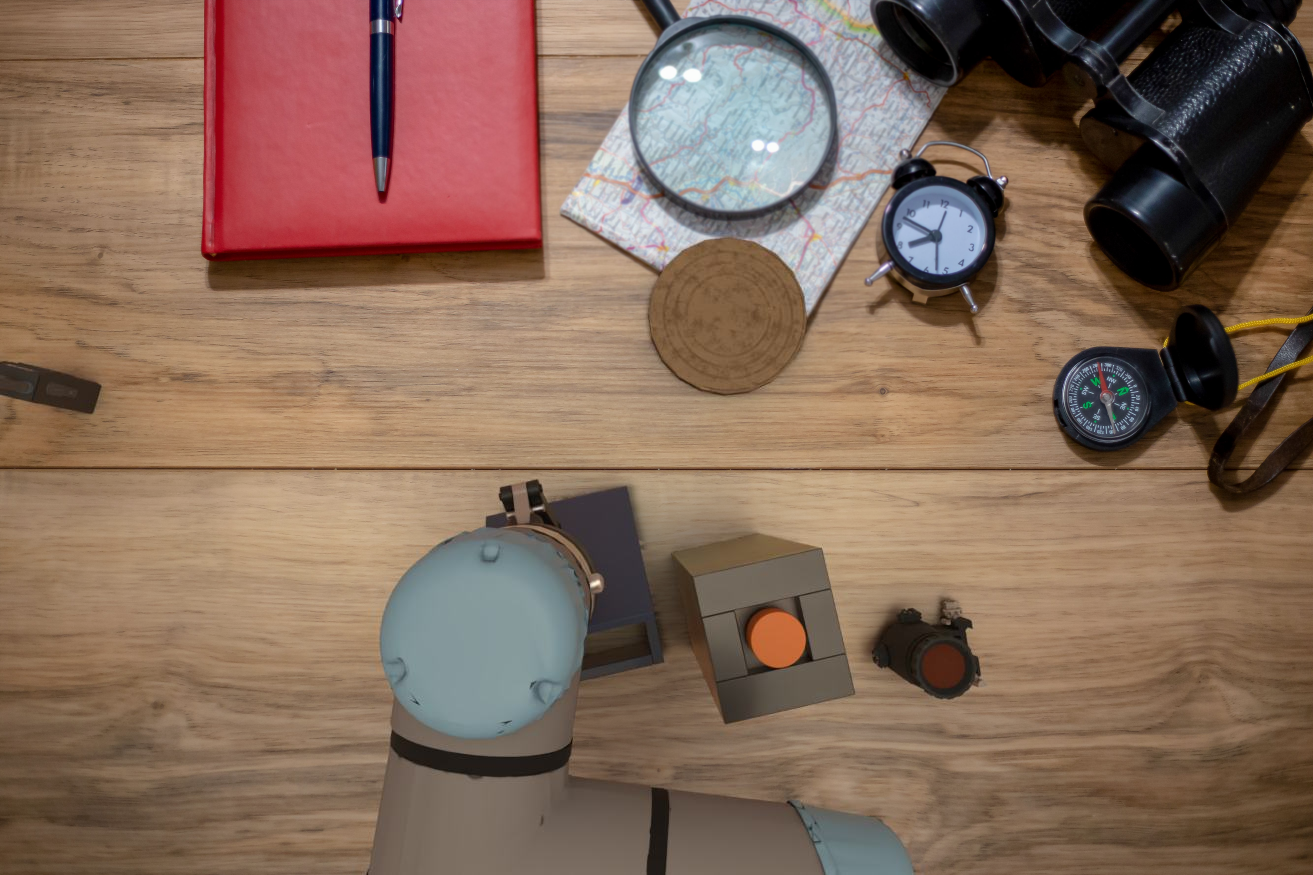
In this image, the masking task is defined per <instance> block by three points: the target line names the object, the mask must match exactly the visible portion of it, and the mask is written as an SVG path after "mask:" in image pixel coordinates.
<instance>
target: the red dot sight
mask: <svg viewBox="0 0 1313 875" xmlns="http://www.w3.org/2000/svg"><path fill="white" fill-rule="evenodd" d="M942 604H943V609H942V615H940V616H939V621H940V623H941V624H929V623H928V622H926V621H924V620H922V619H923V616H922V614H923V613H922V612H921V611H919V610H917V609H916V608H913V607H909V608H907V609H906V608H903V609H901V611H900V612H899V613H898V614H897V615H896V617H897V622H895V623H894V624H892V625H890V626H888V627H887V628H886V629H885V630H884V632H883V633H882V634H881V635H882V636H881V637H880V643H875V645H874V646H873V649H872V650H871V655H874V656H872V661H873V663H874V664H875V665H877V667H878V668H880V669H883V668H884V669H887V668H888V669H890V670H891V671H892V672H894V673H895V674H896V675H897V676H899V677H900V678H902V679H903V680H905V681H906V682H907V683H909V684H911V685H914V686H916V687H918V688H920V689H921V690H923V692H924V693H926V694H927V695H929V696H930V697H934V698H936V699H938V700H943V699H945V700H948V701H950V700H953V699H956V698H960V697H962V696H963V695H964V694H966V692H969V690H970V689H971V687H976V688H982V687H983V688H984V687H988V686H989V683H988V682H987V681H986V680H984V679H982V678H980V677H981V676H982V672H981V666H980V659H979V656H977V655H975V654H973V652H972V649H971V647H970V646H969V642H968V636H967V629H971V630H974V627H973V620H972V619H970V618H966V617H963V616H961V615H962V614H963V610H962V607H960V601H959V600H957V599H949V600H945V601H943V602H942Z"/></svg>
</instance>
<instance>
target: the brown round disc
mask: <svg viewBox="0 0 1313 875" xmlns="http://www.w3.org/2000/svg"><path fill="white" fill-rule="evenodd" d="M648 309H649V310H648V314H647V315H648V323H649V331H650V338H651V342H652V344H653V346H654V348H655V350H656V352H657V354H658V357H659V359H660V360H661V363H662V364H663V365H664V366H665V367H666V368H667V369H668V370H669V371H670V372H671V373H672V374H673V375H674V376H675V377H676V378H677V380H679V381H681V382H683V383H684V384H687V385H688V386H689V387H692V388H693V389H695V390H697V391H699V392H703V393H707V394H713V395H716V396H717V395H718V396H724V397H726V396H733V395H742V394H743V395H744V394H749V393H751V392H753V391H756V390H757V389H760V388H763V387H764V386H766V385H768V384H770V383H772V382H773V381H774V380H775V379H776V378H778V377H779V375H780V374H782V373H783V372H784V371H785V370H786V369H787V368H788V367H789V366H790V365H791V364H792V363H793V361H794V359H795V358H796V356H797V353H798V351H799V350H800V348H801V346H802V344H803V343H804V338H805V332H806V326H807V321H808V314H807V306H806V300H805V293H804V291H803V289H802V287H801V285H800V283H799V281H798V278H797V277H796V274H795V273H794V270H792V269H791V267H789V265H787V264H786V262H785V261H784V260H783V259H782V258H781V257H780V256H779V255H778V253H776V252H774V251H772V250H770V249H769V248H767V247H765V246H763V245H761V244H760V243H758V242H755V241H753V240H749V239H743V238H737V237H732V236H725V237H718V238H717V237H716V238H709V239H704V240H702V241H700V242H698V243H695V244H693V245H690V246H689V247H687V248H684V249H683V250H681V251H680V252H679V253H678V254H676V256H675V257H673V259H672V260H671V261H669V263H667V264H666V265H665V266H664V268H663V270H662V272H661V273H660V275H659V277H658V278H657V280H656V282H655V284H654V286H653V288H652V293H651V299H650V303H649V308H648Z"/></svg>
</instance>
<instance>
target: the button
mask: <svg viewBox="0 0 1313 875" xmlns="http://www.w3.org/2000/svg"><path fill="white" fill-rule="evenodd" d="M746 639H747V643H748V645H749V647H750V649H751V651H752V652H753V653H754V654H755V656H756V657H757V658H758V659H759V660H760V661H761V662H762V663H764V664H766V665H767V666H770V667H774V668H783V667H787V666H789V665H792V664H793V663H795V662H796V661H797V660H798V659H799V658H800V657H801V655H802V653H803V651H804V649H805V645H806V635H805V631H804V629H803V626H802V625H801V623H800V622H799V621H798V620H797V619H796V618H795V617H794V616H792V615H791V614H789V613H788V612H786V611H785V610H782V609H779V608H766V609H763V610H760V611H759V612H757V613H756V614H755V615H754V616H753V617H752V618H751V620H750V621H749V623H748V626H747V630H746Z"/></svg>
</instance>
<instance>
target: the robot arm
mask: <svg viewBox="0 0 1313 875" xmlns="http://www.w3.org/2000/svg"><path fill="white" fill-rule="evenodd" d="M543 488H544V487H543V484H542V483H541V482H540V480H539V479H532V480H527V481H522V482H518V483H513V484H508V485H504V486H500V487H499V493H498V498H499V501H500V502H501V503H502V505H503V508H504V510H505V512H506V516H507V519H508V520H509V522H508V523H507V526H506V527H502V528H489V527H486V526H484V527H479V528H476V529H475V530H473V531H466V530H465V531H462V532H460V533H458V534H456V535H453V536H452V537H449V538H447V539H445V540H443V541H441V542H439V543H438V544H436V545H435V546H434V547H432V548H431V549H430V550H429V551H428V552H427V553H426V554H425V555H423V556H422V557H421V558H419V559H418V560H416V561H415V563H413V564H412V565H411V566H410V567H409V568H408V570H407V571H405V572H404V574H403V575H402V576H401V577H400V579H399V580H398V581H397V583H396V585H395V586H394V588H393V589H392V592H391V593H390V595H389V598H388V600H387V602H386V604H385V608H384V611H383V614H382V618H381V622H380V630H379V652H380V661H381V664H382V668H383V671H384V674H385V677H386V679H387V681H388V684H389V686H390V689H391V691H392V693H393V695H394V696H393V702H392V708H391V716H390V721H389V723H390V727H391V731H390V738H389V742H390V743H389V750H388V756H387V762H386V767H385V772H384V777H383V778H384V779H383V784H382V790H381V795H380V796H381V797H380V803H379V808H378V814H377V820H376V825H375V832H374V836H373V842H372V849H371V855H370V861H369V866H368V869H367V871H366V874H365V875H916V873H915V870H914V867H913V863H912V861H911V857H910V855H909V853H908V850H907V848H906V846H905V844H904V842H902V840H901V838H900V837H899V835H898V834H897V833H896V832H895V831H894V830H893V829H892V828H891V827H890V826H889V825H887V824H886V823H884V821H883V820H882V819H881V818H878V817H873V816H869V815H863V814H858V813H851V812H845V811H842V810H841V811H840V810H834V809H829V808H823V807H818V806H813V805H808V804H807V805H806V804H803V802H801V801H800V800H798V799H792V798H791V799H790V798H789V799H787V801H786V802H781V801H773V800H765V799H758V798H757V799H756V798H748V797H740V796H730V795H722V794H713V793H704V792H696V791H688V790H679V789H671V788H664V787H655V786H651V785H648V784H639V783H632V782H625V781H616V780H607V779H601V778H591V777H582V776H575V775H572V774H570V758H571V756H572V748H573V741H574V737H573V734H574V725H575V718H576V711H577V705H578V704H577V703H578V697H579V696H578V695H579V688H580V683H581V681H580V679H581V677H580V675H581V673H582V670H581V668H582V660H583V655H585V648H586V642H587V630H588V627H589V624H590V621H591V619H592V616H593V613H594V610H595V607H596V603H597V598H598V593H600V592H602V590H603V588H604V579H603V577H602V576H601V575H600V574H599V573H596V570H595V567H594V564H593V562H592V559H591V557H590V556H589V554H588V552H587V551H586V549H585V548H584V547H583V546H582V545H581V543H580V542H579V541H578V540H576V539H575V538H574V537H573V536H572V535H570V534H569V533H567V532H565V531H563V530H562V526H561V523H560V522H559V521H558V518H557V517H556V515H555V513H554V512H553V510H552V508H551V506H550V505H549V503H550V502H549V501H548V499H547V497H545V494H544V489H543Z"/></svg>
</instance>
